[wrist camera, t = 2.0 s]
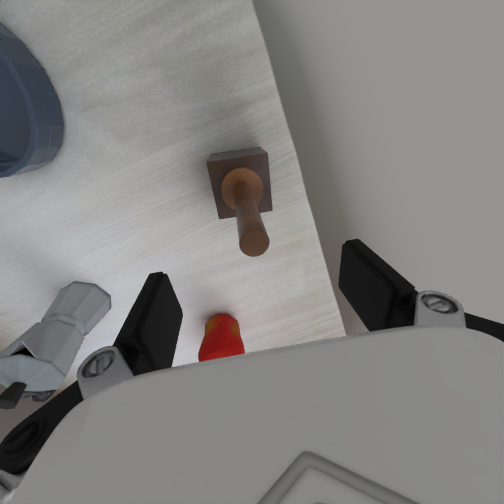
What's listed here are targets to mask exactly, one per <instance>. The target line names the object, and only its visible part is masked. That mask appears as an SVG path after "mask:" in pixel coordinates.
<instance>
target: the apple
mask: <svg viewBox="0 0 504 504" xmlns="http://www.w3.org/2000/svg"><path fill="white" fill-rule="evenodd" d="M240 354H245V350H244V345H243V342H242V339H241V336H240V329H239V324H238V322H237V320H235V319H234V318H232V317H231V316H230V315H227V314H218V315H216V316H214V317H213V318H211V319H210V320H209V321H208V322H207V323H206V325H205V335H204V338H203V341H202V343H201V346H200V350H199V353H198V359H199V362H202V361H208V360H213V359H218V358H224V357H229V356H235V355H240Z"/></svg>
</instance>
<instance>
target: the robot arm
mask: <svg viewBox="0 0 504 504" xmlns="http://www.w3.org/2000/svg"><path fill="white" fill-rule="evenodd" d="M339 288H340V290H341V291H342V293H343V294H344V296H345V297H346V299H347V300H348V302H349V303H350V304H351V306H352V307H353V309H354V310H355V312H356V313H357V314H358V316H359V317H360V319H361V320H362V322H363V323H364V324H365V326H366V327H367V329H368V330H369V332H366V333H359V334H354V335H348V336H342V337H336V338H330V339H324V340H319V341H313V342H307V343H302V344H296V345H290V346H285V347H279V348H273V349H268V350H262V351H257V352H251V353H246V354H240V355H235V356H229V357H224V358H218V359H213V360H208V361H202V362H197V363H191V364H186V365H181V366H176V367H172V362H173V358H174V353H175V349H176V344H177V340H178V335H179V331H180V326H181V322H182V317H183V312H182V309H181V306H180V304H179V302H178V299H177V297H176V294H175V292H174V290H173V287H172V285H171V282H170V280H169V278H168V275H167V274H164V273H163V272H156V273H151V274H149V276H148V278H147V280H146V282H145V284H144V286H143V288H142V290H141V292H140V294H139V296H138V298H137V299H136V301H135V303H134V305H133V307H132V309H131V310H130V312H129V314H128V316H127V318H126V320H125V322H124V324H123V326H122V328H121V330H120V332H119V334H118V336H117V338H116V340H115V342H114V344H113V346H106V347H103V348H100V349H99V350H97V351H95V352H93V353H92V354H91V355H89V356H88V357H87V358H86V359H85V360H84V361H83V362H82V364H81V365H80V367H79V369H78V371H77V381H75V382H74V383H73V384H71V385H70V386H69V387H67V388H66V389H65V390H63V391H62V392H61V393H59V394H58V395H57V396H55V397H54V398H53V399H51V400H50V401H49V402H48V403H46V404H45V405H43V406H42V407H41V408H39V409H38V410H37V411H35V412H34V413H33V414H32V415H30V416H29V417H27V418H26V419H25V420H23V421H22V422H21V423H20V424H18V425H17V426H16V427H15V428H14V429H13V430H12V431H11V432H10V433H9V434H8V435H7V436H6V437H5V438H4V440H3V441H2V442H1V444H0V504H504V324H501V323H498V322H494V321H491V320H488V319H485V318H481V317H478V316H474V315H471V314H468V313H465V312H464V310H463V307H462V305H461V304H460V303H459V302H458V301H457V300H456V299H454V298H453V297H451V296H449V295H447V294H444V293H441V292H437V291H422V292H420V293H418V292H417V291H416V290H415V287H414V286H413V285H412V284H411V283H409V282H408V281H407V280H406V279H405V278H404V277H402V276H401V275H400V274H399V273H398V272H397V271H395V270H394V269H393V268H392V267H391V266H390V265H388V264H387V263H386V262H385V261H384V260H383V259H381V258H380V257H379V256H378V255H377V254H376V253H374V252H373V251H372V250H371V249H370V248H369V247H367V246H366V245H365V244H364V243H363V242H362V241H360V240H359V239H354V240H348V241H346V242H345V244H343V246H342V254H341V264H340V274H339Z"/></svg>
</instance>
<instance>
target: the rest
mask: <svg viewBox="0 0 504 504" xmlns="http://www.w3.org/2000/svg"><path fill="white" fill-rule="evenodd" d="M207 167H208V171H209V175H210V180H211V184H212V189H213V193H214V198H215V202H216V207H217V211H218V216H219V219H224V218H231V217H236V210H235V209H233V208H231V207H229V206H228V205H227V204H226V203H225V201H224V200H223V197H222V194H221V183H222V180H223V178H224V176H225V175H226V173H227V172H228V171H230V170H231V169H233V168H236V167H248V168H250V169H252V170H254V171H255V172H256V173H257V174H258V175H259V177H260V178H261V180H262V183H263V196H262V198H261V200H260V202H259V203H258V204H257V207H258V210H259V213H262V212H268V211H272V199H271V187H270V175H269V162H268V153H267V152H266V151H264V150H263V149H262V148H261V147H254V148H248V149H241V150H235V151H228V152H222V153H215V154H211V155H210V157H209V159H208V161H207Z"/></svg>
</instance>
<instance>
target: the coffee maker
mask: <svg viewBox="0 0 504 504" xmlns="http://www.w3.org/2000/svg"><path fill="white" fill-rule="evenodd" d="M110 309H111V297H110V295H109V294H107V293H106V292H105V291H104V290H102V289H101V288H100V287H98V286H97V285H96V284H89V283H82V282H73V283H72V284H70V285H68V286H67V287H65V288H63V289H61V291H60V292H59V294H58V296H57V297H56V299H55V300H54V302H53V303H52V305H51V306H50V308H49V309H48V311H47V312H46V314H45V315H44V317H43V318H42V322H39V323H36V324H35V325H33V326H32V327H31V328H30V329H29V330H27V331H26V332H25V333H24V334H23V335H21V336H20V337H19V338H18V339H16V340H15V341H14V342H13V343H12V344H10V345H9V346H8V347H7V348H5V349H4V350H3V351H2V352H1V353H0V383H1V384H2V385H3V386H5V387H8V388H7V389H6V390H5V391H4V392H3V393H2V394H1V395H0V408H2V409H12V408H15V406H16V405H17V403H18V401H19V399H20V398H21V399H26V398H28V397H30V396H32V399H33V401H35V402H44V401H46V400H47V399H48V398H49V397H50V396H51V395H52V394H53V393H54V392H55V391H56V389H58V388H59V387H60V385H61V384H62V382H63V380H64V379H65V377H66V376H67V374H68V372H69V369H70V367H71V365H72V363H73V361H74V359H75V357H76V355H77V353H78V351H79V348H80V346H81V344H82V342H83V340H84V336H86V335H87V334H88V333H89V332H90V331H91V330H92V329H93V328H94V327H95V325H96V324H97V323H98V322H99V321H100V320H101V319H102V318H103V317H104V316H105V315H106V313H107V312H108V311H109V310H110Z"/></svg>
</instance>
